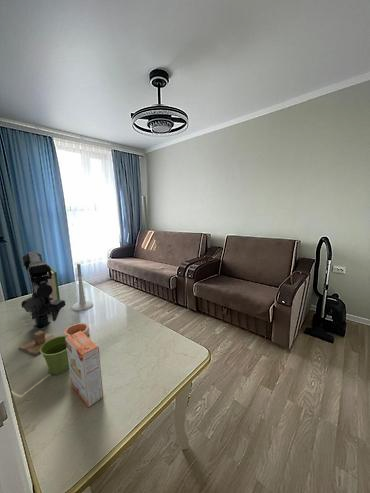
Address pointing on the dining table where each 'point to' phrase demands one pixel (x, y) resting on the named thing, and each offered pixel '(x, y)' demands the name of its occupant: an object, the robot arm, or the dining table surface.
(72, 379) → the cracker box
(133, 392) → the dining table surface
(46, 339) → the lid
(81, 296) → the candlestick
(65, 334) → the bowl
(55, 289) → the hardback book
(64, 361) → the plant pot
